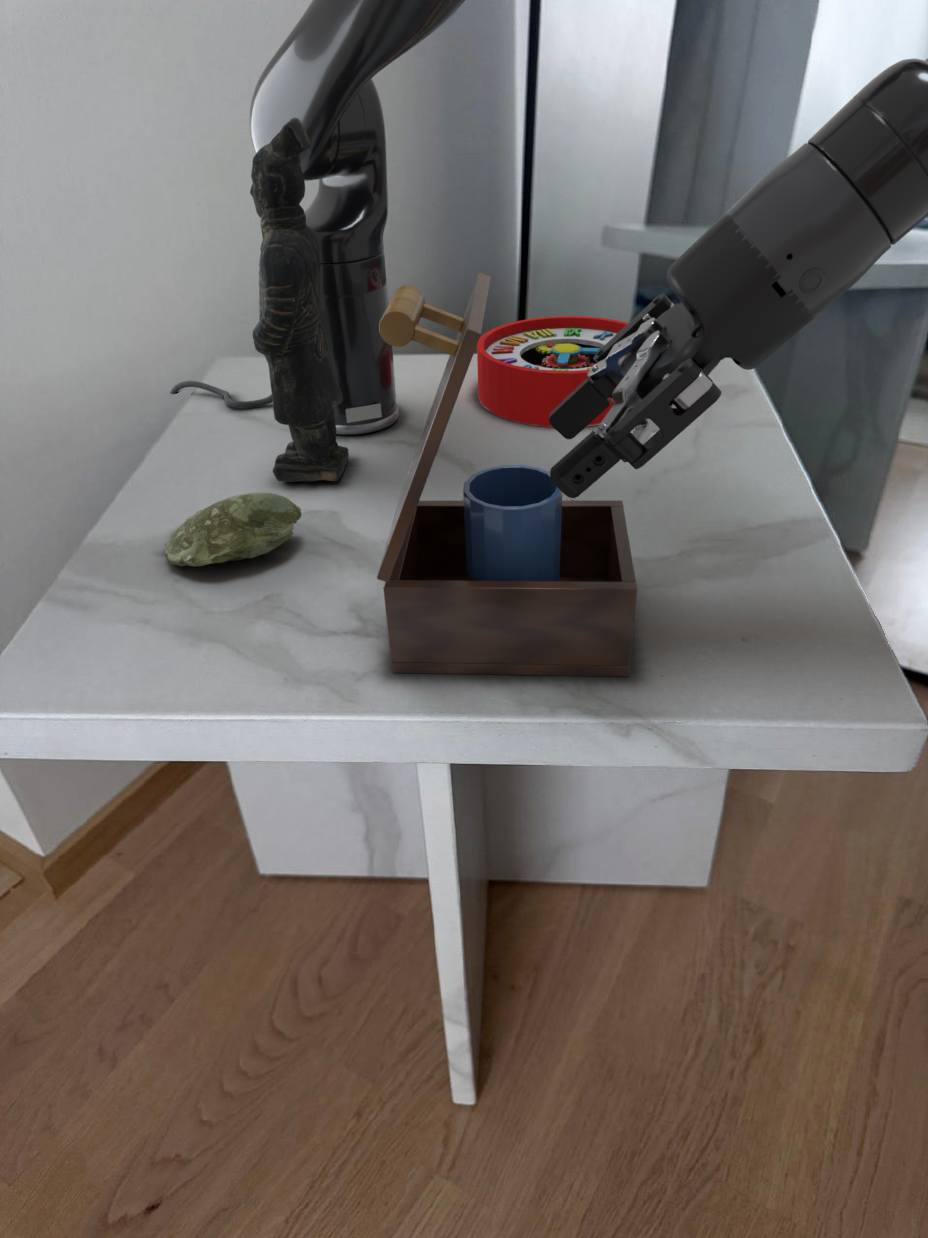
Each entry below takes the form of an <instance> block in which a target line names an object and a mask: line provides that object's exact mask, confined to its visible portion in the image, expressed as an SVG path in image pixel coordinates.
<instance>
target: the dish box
mask: <svg viewBox="0 0 928 1238" xmlns="http://www.w3.org/2000/svg"><path fill="white" fill-rule="evenodd" d="M624 508H625V507H624V502H623V500H562V519H561V550H560V581H467V569H466V545H465V521H464V500H419V502H418V505H417V507H416V510H415V513H414V516H413V518H412V521H411V524H410V526H409V529H408V532H407V534H406V537H405V540H404V543H403V545H402V548H401V551H400V553H399V556H398V559H397V561H396V564H395V567H394V569H393V572H392V575H391V578H390V580H389V582H385V581H384V584H383V587H382V588H383V598H384V606H385V617H386V625H387V635H388V644H389V652H390V653H389V654H390V663H391V670H392V673H394V674H447V675H448V674H451V675H452V674H454V675H508V676H510V675H511V676H568V677H569V676H570V677H571V676H574V677H575V676H576V677H577V676H578V677H579V676H580V677H581V676H582V677H630V673H631V661H632V650H633V640H634V628H635V621H636V620H635V618H636V607H637V598H638V597H637V596H638V585H637V580H636V574H635V568H634V562H633V556H632V549H631V544H630V539H629V531H628V526H627V520H626V519H627V518H626V514H625V509H624Z"/></svg>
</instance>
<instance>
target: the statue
mask: <svg viewBox="0 0 928 1238" xmlns="http://www.w3.org/2000/svg"><path fill="white" fill-rule="evenodd" d="M310 147H311V143H310V141H309V138H308V135H307V133H306V131H305V129H304V127H303V125H302V123H301V121H300V120H299V119H298V118H295V117H294V118H292V119H291V120H290V121H289V122H287V123H286V124H284V126H283V128H282V129H281V131H280V132H279V133H278V134H277V135H276V136H275V137H274V138H273V139H272V141H271V142H270V143H269V144H267V145H265V146H263V147H262V148H261V149H260V150H259V151H258V152H257V153H256V152H255V154H254V156H253V157H252V164H251V172H250V173H251V174H250V178H251V181H252V183H251V187H250V190H249V194H250V196H252V200H253V203H254V207H255V212H256V214H257V215H258V217H259V218H260V230H261V238H262V242H261V243H260V248H259V250H260V254H259V261H258V268H259V269H258V290H259V291H258V295H259V301H258V303H259V315H258V316H259V318H258V319H259V320H258V323H256V325H255V327H254V328H253V330H252V339H253V345H254V349H255V350H256V351H257V353H258V354H259V353H260V355H261V354H262V355H263V357H264V359H265V361H266V363H267V365H268V373H269V383H270V392H271V394H272V400H273V402H272V408H273V416H274V420H275V421H276V422H277V423H279V424H280V425H284V426H288V429H289V433H290V438H291V439H292V441H290V442H288V443H287V446H286V448H285V452H284V453H281V454H278V455H277V456H276V458H275V461H274V466H273V468H272V475H274V477H275V479H276V480H277V481H278V482H290V483H296V482H310V483H311V482H319V481H328V482H338V481H340V478H341V476H342V475H343V473H344V471H345V469H346V466H347V465H346V464H348V460H349V456H350V455H349V454H350V453H349V448H348V447H347V446H342V445H339V444H338V442H337V434H336V424H335V416H334V409H335V408H336V407H337V406H338V405H340V404H341V403H342V402H343V396H342V393H341V390H340V386H339V383H338V380H337V377H336V374H335V371H334V368H333V364H332V361H331V356H330V351H329V346H328V340H327V337H326V334H325V332H324V329H323V325H322V322H321V316H320V313H319V306H320V302H319V293H320V250H319V244H318V239H317V237H316V235H315V233H314V231H313V230H312V229H311V228H310V227H308V226H307V225H306V216H305V213H304V211H305V209H304V208H303V207H302V205H301V202H302V201H303V199H304V197H305V194H306V181H304V176H303V173H302V169H301V165H300V158H299V155H300V153H301V152H303V151H305V150H307V149H309V148H310Z"/></svg>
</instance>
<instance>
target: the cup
mask: <svg viewBox="0 0 928 1238" xmlns="http://www.w3.org/2000/svg"><path fill="white" fill-rule="evenodd" d="M462 490H463V492H462V493H463V494H462V495H463V501H464V521H465V545H466V569H467V581H560V550H561V519H562V501H563V492H562V491H561V490H560V489H559V488H557V487H556V486H555V485H554V484H553V483H552V482H551V480H550V471H549V470H546V469H543V468H541V467H537V466H531V465H524V464H503V465H497V466H493V467H492V466H491V467H486V468H484V469H482V470H480V471H477V472H475V473H473V474H471V475H470V476H469V477H468V478H467V479H466V480H465V481H464V482H463V489H462Z"/></svg>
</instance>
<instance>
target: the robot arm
mask: <svg viewBox="0 0 928 1238" xmlns="http://www.w3.org/2000/svg"><path fill="white" fill-rule="evenodd" d="M466 1H467V0H311V2H310V3H309V5H308V6H307V8H306V9H305V11H304V13H303V14H302V16H301V17H300V19H298V21H297V23H296V24H295V25H294V27H293V28H292V30H291V31H290V32H289V33H288V35H287V37H286V38H285V39H284V41H283V42H282V44H280V46H279V47H278V49H277V50H276V51H275V53H274V55H273V56H272V57H271V58H270V60H269V61H268V63H267V64H266V65H265V68H264V69H263V70H262V72H261V74H260V76H259V77H258V80H257V82H256V84H255V87H254V90H253V93H252V96H251V101H250V107H249V133H250V139H251V143H252V147H253V149H254V153H255V154H256V153H257V152H258V151H259V150H260V149H261V148H262V147H263V146H265V145H267V144H269V143H270V142H271V141H272V139H273V138H274V137H275V136H276V135H277V134H278V133H279V132H280V131H281V129H282V128H283V126H284V124H286V123H287V122H289V121H290V120H291V119H292V118H294V117H295V118H298V119H299V120H300V121H301V123H302V125H303V127H304V129H305V131H306V133H307V135H308V138H309V141H310V143H311V147H310V148H309V149H307V150H305V151H303V152H301V153H300V155H299V158H300V165H301V169H302V173H303V176H304V181H305V182H309V181H317V180H318V185H317V186H318V187H317V192H316V194H315V197H314V199H313V200H312V202H311V203H310V204H309V206H308V207H307V208H306V209H304V213H305V216H306V225H307V226H308V227H310V228H311V229H312V230H313V231H314V233H315V235H316V237H317V239H318V244H319V250H320V293H319V302H320V306H319V313H320V316H321V322H322V325H323V329H324V332H325V334H326V337H327V340H328V346H329V351H330V356H331V361H332V364H333V368H334V371H335V374H336V377H337V380H338V383H339V386H340V390H341V393H342V396H343V402H342V403H341V404H340V405H338V406H337V407H336V408H335V409H334V416H335V424H336V435H345V436H346V435H348V436H349V435H361V434H368V433H373V432H377V431H380V430H383V429H385V428H388V427H390V426H392V425H393V424H394V423H395V422H396V421H397V420H398V418H399V416H400V413H399V405H398V402H397V401H398V400H397V390H396V389H397V388H396V377H395V376H396V375H395V374H396V373H395V365H394V352H393V351H394V350H393V346H391V345H389V344H388V343H386V342H385V341H384V340H383V338H382V337H381V335H380V332H379V324H380V320H381V318H382V316H383V314H384V313H385V311H386V309H387V307H388V305H389V303H390V302H389V293H388V292H389V291H388V282H387V269H386V258H385V257H386V256H385V247H384V233H385V228H386V225H387V220H388V217H389V216H388V215H389V191H388V190H389V189H388V163H387V162H388V160H387V136H386V124H385V123H386V122H385V116H384V115H385V114H384V110H383V105H382V99H381V98H380V95H379V91H378V88H377V86H376V84H375V82H374V80H373V78H374V77H375V76H376V75H377V74H378V73H379V72H381V71H382V70H383V69H385V68H386V67H387V66H389V65H390V64H391V63H393V62H395V61H396V60H397V59H399V58H400V57H402V56H403V55H405V54H406V53H407V52H408V51H410V50H411V49H412V48H414V47H415V46H417V45H418V44H420V43H421V42H423V40H425V39H426V38H428V37H429V36H430V35H432V34H433V33H434V32H436V31H437V30H438V29H439V28H441V26H443V25H444V24H445V23H446V22H447V21H449V20H450V19H451V18H452V17H453V16H454V15H455V14H456V13H457V12H458V11H459V9H460V8H461V7H462V6H463V5H464V4H465V3H466ZM927 217H928V58H926V59H920V58H906V59H902V60H899V61H897V62H895V63H893V64H891V65H890V66H888V67H886V68H885V69H884V70H882V71H881V72H880V73H879V74H878V75H876V76H875V77H874V78H872V79H871V80H870V81H869V82H868V83H867V84H866V85H864V86H863V87H862V88H861V89H860V90H859V91H858V92H857V93H856V94H855V95H854V96H853V97H852V98H851V99H850V100H849V101H848V102H847V103H846V104H844V106H843V107H842V108H841V109H839V110H838V111H837V112H836V113H835V114H834V115H833V116H832V117H831V118H830V119H829V120H828V121H827V122H826V123H825V124H824V125H822V127H820V129H819V130H817V132H815V133H814V134H813V135H812V136H811V137H810V138H809V139H808V141H807V142H805V143H803V144H802V145H801V146H800V147H799V148H797V150H795V151H794V152H793V153H792V154H790V155H789V156H788V157H786V158H785V159H784V160H783V161H781V162H780V163H778V164H776V166H774V167H773V168H772V169H770V170H769V171H768V172H767V173H766V174H765V175H764V176H762V177H761V178H760V179H759V180H758V181H757V182H756V183H755V184H754V185H753V186H752V187H751V188H749V190H748V191H747V192H745V194H743V196H741V197H740V199H739V200H738V201H736V202H735V203H734V204H733V205H732V206H731V207H730V208H729V209H728V210H727V211H726V212H725V213H724V214H723V215H721V216H720V217H719V218H718V220H717V221H715V222H714V223H713V224H712V225H711V226H710V227H709V228H707V230H706V231H705V232H704V233H703V234H702V235H701V236H700V237H698V239H697V240H696V241H694V243H692V244H691V245H690V246H689V247H688V248H687V249H686V250H685V251H684V252H683V253H682V254H681V255H680V256H679V257H678V258H676V260H675V261H674V262H673V263H672V264H670V265H669V266H668V269H667V271H666V280H667V283H668V285H669V287H670V288H671V289H672V291H673V293H674V294H675V296H676V298H678V300H679V301H678V302H676V303H675V304H674V302H672V301H671V299H670V298H669V297H668V296H667V295H666V294H665V293H664V292H663V293H660V294H659V295H657V296H655V297H654V298H653V299H652V300H651V302H650V303H649V304H648V305H647V306H645V308H643V309H642V310H641V311H640V312H639V313H638V314H637V315H635V316H634V317H633V318H632V319H631V320H630V321H629V322H627V323H628V324H627V325H626V326H625V327H624V328H623V329H622V330H621V331H620V332H618V333H617V334H616V335H615V336H614V337H613V338H612V339H611V340H610V341H609V342H608V343H607V344H605V345H604V346H603V347H602V348H600V349H599V350H598V351H597V352H596V355H595V356H594V358H593V359H594V360H595V361H596V362H597V363H596V364H594V365H593V366H592V367H591V368H590V371H589V372H588V374H587V376H588V377H589V378H590V380H589V379H588V378H587V379H586V380H585V381H584V382H582V383H581V384H580V385H579V386H578V387H577V388H576V389H575V390H574V391H573V392H572V393H571V394H570V395H569V396H568V397H566V398H565V399H564V400H563V401H562V402H561V403H560V404H559V405H558V406H557V407H556V408H555V409H554V410H553V411H552V412H551V413H550V415H549V421H550V424H551V425H552V426H553V427H552V428H553V429H555V430H556V431H557V432H558V433H559V434H560V435H561V436H562V437H563V438H565V439H566V440H572V439H574V438H576V437H577V436H578V435H579V434H580V433H581V432H582V431H583V430H584V429H585V428H587V427H589V426H588V425H589V424H590V423H591V422H592V421H593V420H594V419H595V418H596V417H597V416H599V415H600V414H601V413H602V412H603V411H604V410H605V409H606V408H607V407H609V406H610V405H611V404H610V400H609V399H608V397H609V398H610V399H611V400H612V401H613V406H612V408H611V409H610V411H609V412H608V413H607V415H606V416H605V418H604V419H603V420H602V422H601V423H600V424H599V425H597V427H596V429H595V431H594V430H592V431H591V432H590V433H589V434H587V435H586V437H584V438H583V439H582V440H581V441H579V442H578V443H577V444H576V445H575V446H574V447H573V448H572V449H571V450H570V451H568V452H567V453H566V454H565V455H564V456H563V457H562V458H561V459H560V460H559V461H557V462H556V463H555V464H554V465H553V466H552V467H551V468H550V470H549V472H550V480H551V482H552V483H553V484H554V485H555V486H556V487H557V488H559V489H560V490H561V491H562V494H563V495H565V496H566V497H567V498H569V499H576V498H579V496H580V495H582V494H583V493H584V492H585V491H586V490H588V489H589V488H590V487H591V486H592V485H593V484H595V483H596V482H597V481H598V480H599V479H600V478H601V477H602V476H604V475H605V474H606V473H607V472H608V471H609V470H611V469H613V467H614V466H616V465H617V464H618V463H619V462H621V461H622V462H623V463H624V464H625V463H628V464H629V465H630V466H631V467H632V468H633V469H634V470H639V469H641V468H642V467H644V466H645V465H646V464H647V463H649V461H650V460H652V459H653V458H654V457H655V456H656V455H657V454H658V453H659V452H661V451H662V450H663V449H664V448H665V447H667V446H668V445H669V444H670V443H671V442H673V440H674V439H675V438H677V437H678V436H679V435H680V434H681V433H682V432H684V431H685V430H686V429H687V428H688V427H689V426H690V425H691V424H693V422H695V421H696V420H697V419H698V418H699V417H700V416H701V415H702V414H704V413H705V412H706V411H707V410H708V409H709V408H711V407H712V406H713V405H714V404H715V403H716V402H717V401H718V400H719V399H720V397H721V396H722V390H721V389H720V388H719V387H718V385H716V384H715V382H714V380H713V379H712V378H711V377H710V376H709V375H710V374H711V373H712V371H714V369H715V368H716V367H717V366H718V365H719V364H720V362H721V361H723V360H724V359H731V360H732V361H733V363H734V364H735V365H737V366H738V367H739V368H741V369H743V370H746V371H752V370H755V369H756V368H757V367H758V366H760V365H761V364H762V363H764V361H765V360H767V359H768V358H769V357H770V356H772V355H773V354H774V353H775V352H776V351H777V350H778V349H780V348H781V347H782V346H784V344H786V343H787V342H788V341H789V340H790V339H792V338H793V337H794V336H795V335H796V334H797V333H799V332H800V331H802V329H803V328H804V327H806V326H807V325H808V324H810V323H811V322H812V321H813V320H814V319H815V318H817V317H818V316H819V315H820V314H822V312H824V311H825V310H827V308H828V307H829V306H831V305H832V304H833V303H834V302H835V301H837V300H839V298H840V297H842V295H844V294H845V293H846V292H848V291H849V290H850V289H851V288H852V287H853V286H854V285H855V284H856V283H858V281H860V280H861V278H862V277H863V276H865V274H866V273H868V271H869V270H871V268H872V267H873V266H874V265H875V263H876V262H878V260H879V259H880V258H882V257H883V255H885V254H886V252H887V251H889V250H890V249H891V248H892V245H896V244H897V243H898V242H899V241H900V240H902V238H904V237H905V236H906V235H907V234H909V233H910V232H911V231H912V230H914V229H915V228H916V227H917V226H918V225H919V224H920V223H922V222H923V221H924V220H925V219H926V218H927ZM629 353H631V354H629ZM185 388H198V389H201V390H204V391H207V392H211V393H212V394H215V395H218V396H220V397H223V399H224V403H225V404H226V405H227V406H228V407H232V408H239V409H249V408H258V407H262V406H266V405H269V404H271V403H273V400H272V393H271V394H269V395H268V396H266V397H264V398H260V399H255V400H248V401H247V400H242V401H241V400H233V399H231V393H229V392H228V391H226V390H224V389H222V388H219V387H216V386H214V385H211V384H208V383H205V382H201V381H196V380H182V381H180V382H178V383H176V384H175V385H174V386H172V388H171V389H170V391H169V394H177V393H178V392H179V391H180V390H182V389H185ZM625 414H626V415H625ZM586 426H587V427H586ZM652 434H653V435H652ZM651 435H652V436H651ZM650 436H651V437H650ZM620 460H621V461H620Z"/></svg>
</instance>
